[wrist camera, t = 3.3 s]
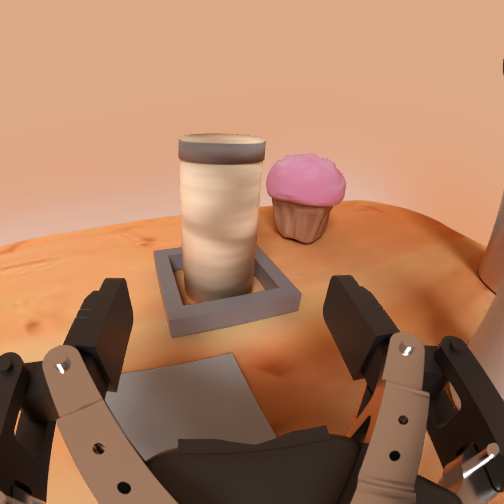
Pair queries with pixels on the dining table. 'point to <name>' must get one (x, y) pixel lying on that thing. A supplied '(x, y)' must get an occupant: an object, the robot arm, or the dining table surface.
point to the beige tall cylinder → (219, 213)
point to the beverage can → (489, 345)
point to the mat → (188, 405)
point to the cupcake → (304, 195)
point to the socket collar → (228, 309)
